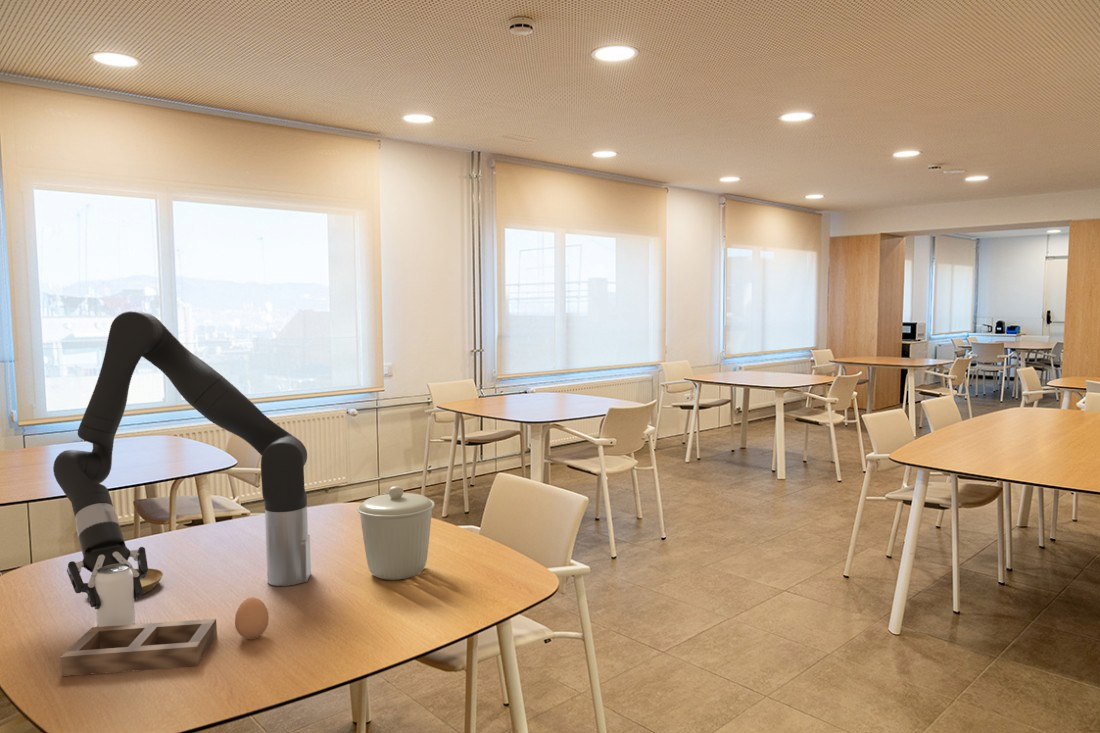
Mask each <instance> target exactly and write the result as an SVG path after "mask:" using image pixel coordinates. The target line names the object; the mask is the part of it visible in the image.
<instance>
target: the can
mask: <svg viewBox="0 0 1100 733" xmlns="http://www.w3.org/2000/svg"><path fill="white" fill-rule="evenodd" d="M97 572H98V573H97V575H96V578H95V587H96V591H97V593H98V595H99V598H100V602H101V605H100V608H99V609H95V610H96V624H97V626H96V627H104V626H118V625H132V624H136V623H135V622H136V613H135V612H136V611H135V610H136V609H135V608H136V607H135V599H134V587H133V573H132V571H131V569H130V565H129V564H124V563H119V564H111V565H107V566H104V567H101V568H99V569H98V570H97Z"/></svg>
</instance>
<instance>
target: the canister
mask: <svg viewBox="0 0 1100 733" xmlns="http://www.w3.org/2000/svg"><path fill="white" fill-rule="evenodd" d="M435 504H436V503H435V502H434V500H432V499H430V498H428V497H427V496H425V495H421V494H419V493H413V492H412V493H411V492H404V488H403V487H402V486H400V485H392V486H391V487H389V489H388V492H387V493H385V494H378V495H375V496H372V497H370V498H367V499H365V500H364V501H363V502H362V503H360V504H358V506H357V507H356V511H357V513H359V516H360V525H361V531H362V532H361V533H362V537H363V538H362V539H363V545H364V550H365V551H364V553H365V556H366V557H365V558H366V563H367V567H368V570H369V572H370V573H371V574H372V575H373V576H374V577H376V578H378V579H381V580H387V581H388V580H389V581H397V580H399V581H400V580H405V579H410V578H413V577H414V576H415V577H416V576H418V575H419V574H420V573H422V572H423V570H424V569H425V567H426V565H427V560H428V554H429V553H428V552H429V545H430V535H431V523H432V512H433V509H434V507H436V506H435Z"/></svg>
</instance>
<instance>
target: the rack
mask: <svg viewBox="0 0 1100 733" xmlns="http://www.w3.org/2000/svg"><path fill="white" fill-rule="evenodd" d="M217 632H218V629H217V618H206V619H193V620H177V621H176V620H175V621H164V622H163V621H162V622H149V623H134V624H132V625H118V626H104V627H97V626H91V627H90V628H89V629H88V630H87V632H85V633H84V634H83V635H82V636H81V637H80V638H78V640H77V641H76V642H75V643H73V645H71V646H70V647H69V648H68V649H67V650H65V652H64V653H63V654H62V655H61V656H60V657H59V658H60V673H61V677H62V676H63V677H71V676H70V675H75V676H84V675H83V674H88V675H92V674H91V673H100V674H106V673H105V672H108V673H107V674H109V672H113V673H122V672H121V671H125V672H133V671H132V670H135V671H136V670H138V671H149V670H160V669H161V668H162V669H163V670H164V669H173V668H176V669H177V668H186V667H187V668H189V667H198V666H199V664H200V662H201V661H202V659H203V658H204V657H205V656H206V654H207V652H208V651H209V650H210V647H211V646H212V644H213V643H214V641H215V640H216V638H217V637H218V633H217ZM135 671H134V672H135ZM136 672H137V671H136Z"/></svg>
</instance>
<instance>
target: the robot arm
mask: <svg viewBox="0 0 1100 733" xmlns="http://www.w3.org/2000/svg"><path fill="white" fill-rule="evenodd" d="M108 332H109V333H108V337H107V342H106V347H105V351H104V352H105V353H104V356H103V360H102V365H101V368H100V372H99V375H98V377H97V380H96V384H95V385H94V386H95V387H94V389H93V392H92V394H91V397H90V399H89V402H88V404H87V407H86V408H85V411H84V413H83V417H82V419H81V421H80V424H79V427H78V429H77V436H78V437H79V439H81V440H83V441H85V442H87V443H89V444H92V449H91V451H87V450H86V451H85V450H78V449H67V450H64V451H62V452H60V453H59V454H58V455H57V456H56V458H55V459H54V462H53V467H52V468H53V475H54V479H55V480H56V482H57V484H58V485H59V488H60V489H61V490H62V491H63V493H64V495H65V496H66V498H67V499H68V500H69V501H70V503H71V506H72V511H73V514H74V518H75V528H76V535H77V538H78V541H79V545H80V549H81V553H82V557H83V559H82V560H80V561H69V562H68V564H67V568H66V572H67V575H68V578H69V580H70V582H71V586H72V588H73V590H74V592H75V593H76V594H81V593H86V594H87V598H88V602H89V606H90V607H91V608H94V610H96V609H99V608H100V605H101V602H100V598H99V595H98V593H97V591H96V587H95V578H96V575H97V573H98V572H97V570H98V569H99V568H101V567H104V566H107V565H111V564H119V563H124V564H129V565H130V569H131V571H132V573H133V587H134V600H138V599H140V596H142V595H143V594H142V590H143V589H142V586H141V582H140V579H141V578H145V577H146V574H147V572H148V568H149V567H148V560H147V554H146V552H147V551H146V548H145V547H144V546H140V547H138V549H133V550H130V549H129V548H128V547H127V546H126V542H125V538H124V535H123V531H122V528H121V525H120V521H119V517H118V515H117V513H116V510H115V508H114V504H113V501H112V498H111V494H110V492H109V489H108V487H106V486H105V485H104V484H102V483H103V482H104V481H105V480H106V479H107V478H108V477H109V475H110V472H111V469H112V464H113V463H112V462H113V451H114V450H113V449H114V441H115V436H116V434H117V431H118V429H119V426H120V423H121V421H122V419H123V416H124V413H125V410H126V405H127V401H128V396H129V389H130V384H131V381H132V377H133V375H134V372H135V370H136V367H137V365H138V364H139V362H140V360H141V359H142V358H143V359H144V360H147V361H148V362H149V363H150V364H152V365H153V366H155V367H156V368H157V369H158V370H160V371H161V372H162V373H163V374H164V375H165V376H166V377H167V378H168V380H169V381H170V382H171V383H172V385H173V386H174V388H175V389H176V391H177V392H178V393H179V394H180V395H181V396H182V398H183V399H184V400H185V402H187V403H188V404H189V405H190V406H192V407H193V409H195V410H196V411H197V412H198V413H199V414H200V415H202V416H203V417H204V418H206V419H207V420H208V421H209V422H211V423H213V424H214V425H216V426H217V427H220V428H221V429H223V430H225V431H227V432H229V433H230V434H231V433H232V434H233V435H235V436H237V437H239V438H241V439H242V440H244V441H245V442H247V443H248V444H249V445H250V446H251V447H252V448H253V449H254V450H255V451H256V452H257V453H258V454H259V455H260V456H261V459H260V479H261V493H262V499H263V501H264V514H265V515H264V517H265V521H264V522H265V547H266V552H265V553H266V575H267V577H266V578H267V580H266V581H267V583H268V584H269V585H270V586H274V587H275V586H276V587H287V586H294V585H299V584H301V583H307V582H308V581H309V578H310V576H311V574H312V564H311V536H310V535H311V534H309V528H308V527H309V526H308V525H309V524H308V496H307V493H306V489H305V487H306V486H305V467H304V466H306V463H307V460H308V452H307V448H306V446H305V445H304V443H303V442H302V441H301V440H300V439H298V437H296V436H294V435H293V434H292V433H289V432H288V431H287V430H285V428H282V427H281V426H280V425H278V424H277V423H275V422H274V421H273V420H271V419H270V418H269V417H268V416H267V415H266V414H265V413H263V412H262V411H261V410H260V408H258V407H257V406H256V404H254V403H253V402H252V401H251V400H250V399H249V398H248V397H246V396H245V395H244V394H243V393H242V392H241V391H240V390H239V389H238V388H237V387H236V386H235V385H234V384H233V383H231V382H230V381H229V380H228V379H227V378H225V377H224V376H223V375H222V374H220V373H219V372H218V371H217V370H215V369H214V368H213V367H211V366H210V365H209V364H207V363H206V362H205V361H204V360H203V359H201V358H200V357H198V356H197V355H195V354H194V353H192V352H191V351H190V350H189V349H187V348H186V346H184V344H182V343H181V342H180V340H178V338H177V337H175V335H174V334H173V333H172V332H170V330H169V329H168V328H167V327H166V326H165V325H164V324H163V323H162V322H161V320H159V319H158V318H157V317H156V316H154V315H153V314H150V313H148V312H144V311H137V310H130V311H125V312H122V313H120V314H118V315H117V316H116V317H115V318H114V319H113V321H112V322H111V325H110V327H109V331H108ZM130 557H131V558H132V559H133V560H134V561H135V562H137V569H139V571H138V572H137V571H136V570H135V569H136V568H135V567H133V565H132V564H131V563H130V562H129V558H130ZM82 568H84V569H86V570H87V571H89V572H90V573H91V575H90V578H89V580H88V582H84V580H83V578H82V575H81V572H82Z"/></svg>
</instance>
